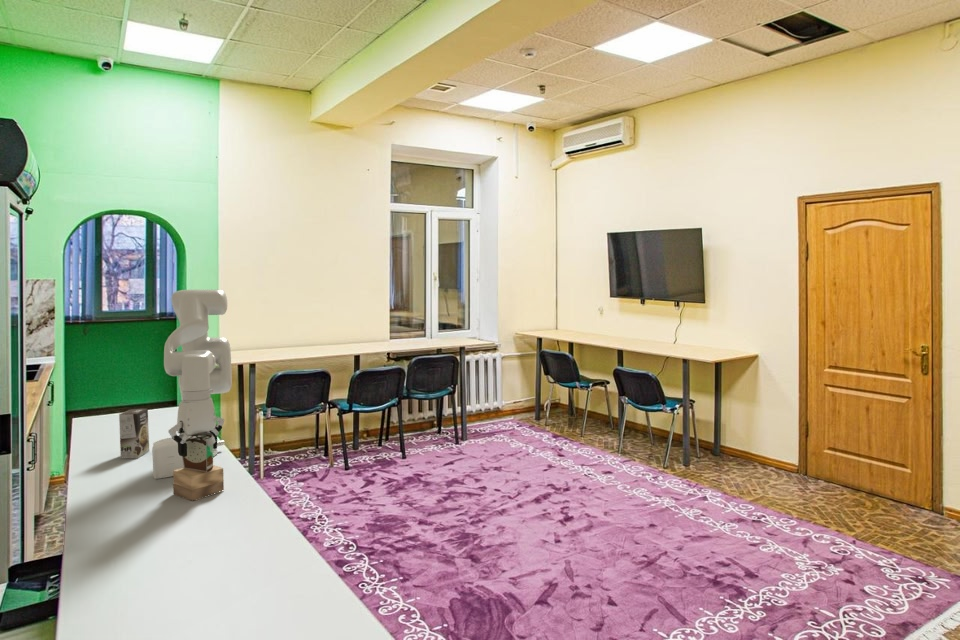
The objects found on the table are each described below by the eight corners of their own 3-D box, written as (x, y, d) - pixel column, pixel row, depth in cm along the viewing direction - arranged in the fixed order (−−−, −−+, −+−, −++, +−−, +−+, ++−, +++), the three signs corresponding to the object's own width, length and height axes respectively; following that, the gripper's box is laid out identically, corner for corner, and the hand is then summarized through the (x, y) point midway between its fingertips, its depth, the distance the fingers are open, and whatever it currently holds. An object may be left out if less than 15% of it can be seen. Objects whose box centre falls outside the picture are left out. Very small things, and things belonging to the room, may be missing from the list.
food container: (226, 465, 189) (224, 433, 188) (210, 472, 184) (207, 439, 183) (197, 460, 194) (194, 429, 193) (180, 467, 189) (177, 435, 187)
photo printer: (154, 480, 199) (152, 442, 198) (152, 476, 202) (151, 439, 201) (189, 474, 204) (188, 437, 204) (187, 471, 208) (186, 434, 207)
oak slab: (205, 474, 194) (204, 462, 194) (223, 481, 189) (223, 468, 188) (173, 483, 186) (173, 470, 186) (191, 490, 180) (191, 476, 180)
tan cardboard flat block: (204, 487, 194) (204, 475, 194) (223, 494, 189) (223, 481, 189) (173, 497, 186) (173, 483, 186) (192, 503, 181) (192, 490, 180)
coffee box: (138, 458, 222) (137, 413, 221) (120, 458, 222) (118, 414, 220) (150, 451, 231) (148, 408, 230) (132, 451, 231) (130, 408, 230)
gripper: (215, 389, 195) (216, 443, 196) (161, 399, 181) (163, 457, 182) (229, 392, 191) (231, 447, 192) (175, 401, 177) (178, 461, 178)
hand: (198, 451), depth 187 cm, fingers open, 9 cm apart
